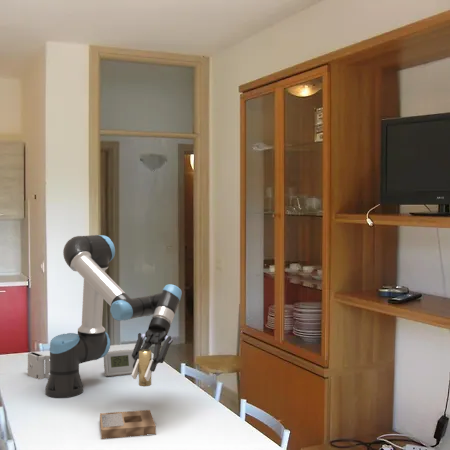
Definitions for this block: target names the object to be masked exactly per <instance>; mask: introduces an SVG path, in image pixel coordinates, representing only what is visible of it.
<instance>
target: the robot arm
mask: <svg viewBox="0 0 450 450" xmlns="http://www.w3.org/2000/svg"><path fill="white" fill-rule="evenodd" d="M62 252H63V253H62V255H63V259H64V261H65V263H66V265H67V266H68V268H70V269H71V271H73V272H77V273H78V274H79V275H80V276H81V277H82V278H83V290H82V291H83V292H82V312H81V313H82V314H81V325H80V326H79V327H78V328H77V333H76V332H75V333H74V332H68V333H61V334H57V335H55V336H54V337H53V338H51V340H50V343H49V350H48V351H49V356H50V359H49V361H50V373H49V375H50V376H49V378H47V382H46V385H45V391H44V392H45V395H46V396H48V397H51V398H56V399H57V398H69V397H70V398H71V397H75V396H79V395H80V394H82V393H83V392H84V384H83V380H82V377H81V375H80V364H83V363H88V362H91V361H97V360H100V359H102V358H104V356H105V355H106V354H107V353H108V352H110V348H111V339H110V336H109V334H108V333H107V331H106V328H105V327H104V326H103V313H104V311H103V309H104V301H105V302H106V303H107V304H108V306H110V314H111V317H112V318H113V319H114V320H115V321H120V322H121V321H128V320H133V319H136V318H143V317H150V316H151V320H150V321H149V325H148V329H147V330H146V331H145V333H141V332H139V333H137V340H136V343H135V345H134V348H133V349H134V350H133V349H132V350H133V353H132V357H133V359H134V360H135V362H134V364H133V368H134V370H133V372H132V374H131V377H132V379H133V380H136V379H137V376H139V373H138V372H139V350H143V349H149V348H151V347H152V345H154V350H153V354H152V355H153V357H152V360H151V361H150V363H149V366H148V368H147V371H146V374H145V376H144V377H145V379H146V380H147V381H149V379H150V376H151V377H152V373H153V372H155V371H156V369H157V366H158V364H163V363H164V361H165V359H166V356H167V353H168V350H169V348H170V346H171V345H172V343H173V338H172V336H171V335H169V336H168V333H169V331H170V329H171V325H172V322H173V320H174V317H175V314H176V312H177V309H178V306H179V304H180V302H181V298H182V293H183V292H182V289H181V288H179V286H177V285H174V284H171V283H170V284H166V285H164V287H163V288H162V290H161V291H162V292H159V293H156V294H151V295H146V296H139V297H130V296H129V294H127V293H126V292H125V291H124V290H123V289H122V288H121V287H120V286H119V285H118V283H116V282H115V281H114V280H113V279H112V278H111V277H110V276H109V274H107V272H106V270H108V268H109V263H110V262H111V261H112V260H113V259H114V258H115V256H116V248H115V244H114V242H113V241H112V239H111V238H110V237H109V236H107V235H103V234H101V235H100V234H94V235H93V234H91V235H77V236H73V237H71V238H70V239H68V240H67V242H66V243H65V245H64V247H63V251H62ZM145 338H146V339H145ZM163 342H164V343H163ZM162 343H163V345H162ZM149 350H150V349H149Z"/></svg>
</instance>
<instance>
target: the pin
mask: <svg viewBox="0 0 450 450" xmlns="http://www.w3.org/2000/svg"><path fill="white" fill-rule="evenodd" d="M152 353H153V352H152V350H151V349H143V350H139V373H138V385H139V386H140V387H150V386H151V385H152V375H151V376H150V379H149V381H147V380H146V379H145V377H144V376H145V374H146V371H147V368H148V366H149V363H150V361H151V360H152V361H153V359H152V358H153V357H152V355H153V354H152Z"/></svg>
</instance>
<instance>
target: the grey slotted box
mask: <svg viewBox="0 0 450 450" xmlns="http://www.w3.org/2000/svg"><path fill="white" fill-rule="evenodd" d="M27 376H29V377H31V378H34V379H37V380H44V379H49V376H50V355H44V354H41V353H38V352H35V351H34V352H33V351H32V352H28V353H27Z"/></svg>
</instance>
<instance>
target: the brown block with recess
mask: <svg viewBox="0 0 450 450" xmlns="http://www.w3.org/2000/svg"><path fill="white" fill-rule="evenodd" d="M99 426H100V436H101V437H100V438H101V440H105V439H106V438H107V439H116V438H117V439H118V438H128V437H129V438H130V436H131V437H141V436H140V435H143V436H148V435H147V434H155V435H156V434H157V433H156V431H157V430H156V428H157V426H156V423H155V420H154V417H153V414H152V411H151V410H150V409H144V410H129V411H116V412H115V411H114V412H102V413H99Z"/></svg>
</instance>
